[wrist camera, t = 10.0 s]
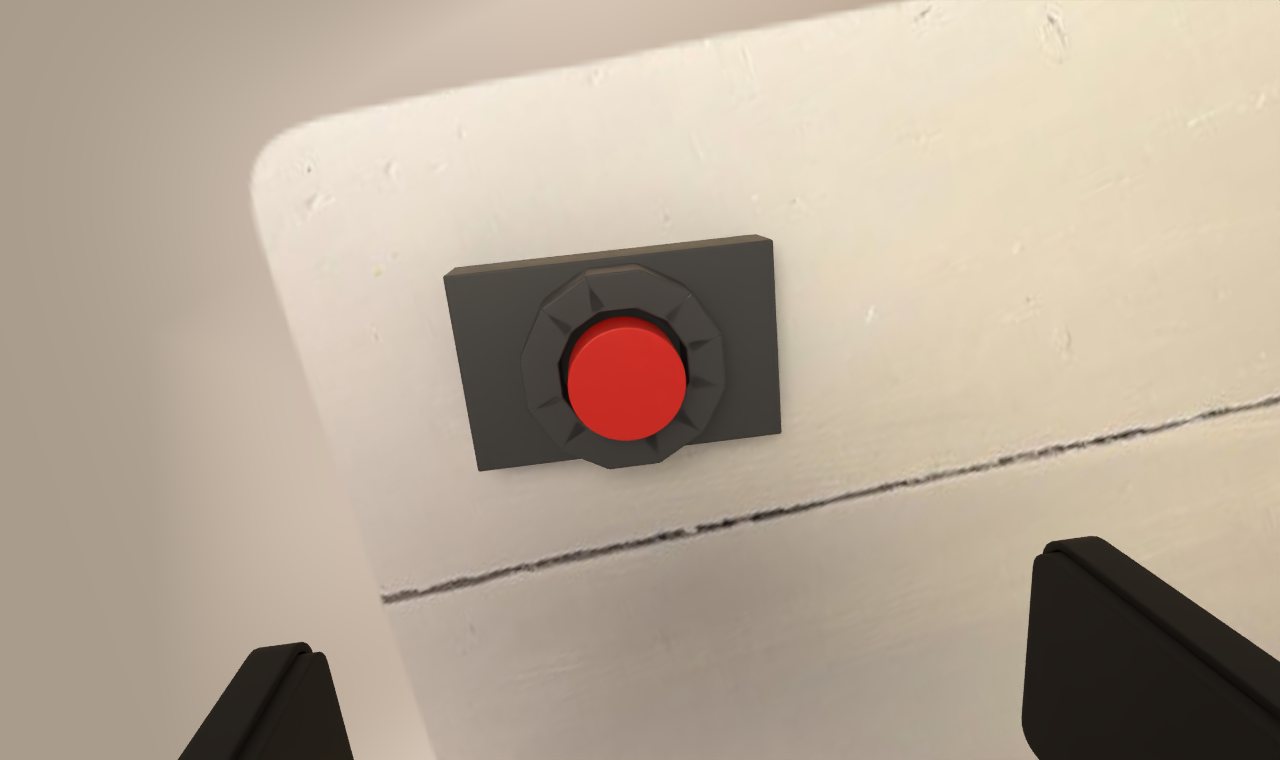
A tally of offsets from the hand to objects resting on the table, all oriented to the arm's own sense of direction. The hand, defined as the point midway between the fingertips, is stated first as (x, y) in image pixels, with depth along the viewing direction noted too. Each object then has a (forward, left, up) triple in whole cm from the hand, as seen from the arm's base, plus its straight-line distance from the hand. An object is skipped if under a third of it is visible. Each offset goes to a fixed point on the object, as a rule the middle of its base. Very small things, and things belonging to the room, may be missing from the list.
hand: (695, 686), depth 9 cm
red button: (0, 0, -15) cm, 15 cm away
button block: (0, 0, -18) cm, 18 cm away
